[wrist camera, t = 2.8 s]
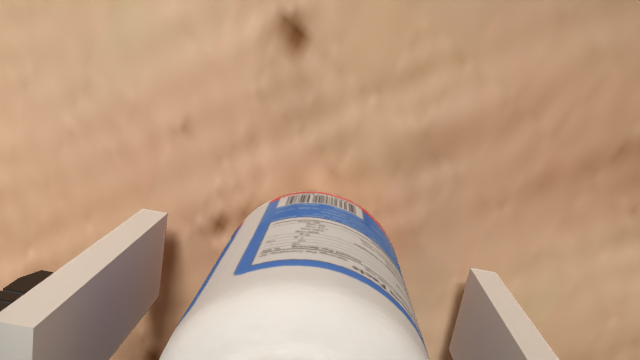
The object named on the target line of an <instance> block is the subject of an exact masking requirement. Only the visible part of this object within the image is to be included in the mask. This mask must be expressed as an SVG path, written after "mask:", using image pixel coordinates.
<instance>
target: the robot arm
mask: <svg viewBox="0 0 640 360" xmlns="http://www.w3.org/2000/svg"><path fill="white" fill-rule="evenodd" d="M167 216H168V213H165V212H160V211H154V210H149V209H143V208H142V209H141V210H140V211H138V212H137V213H136V214H134V215H133V216H131V217H130V218H129V219H127V220H126V221H125V222H123V223H122V224H120V225H119V226H118V227H116V228H115V229H114V230H112V231H111V232H109V233H108V234H107V235H105V236H104V237H103V238H101V239H100V240H98V241H97V242H96V243H94V244H93V245H92V246H90V247H89V248H87V249H86V250H85V251H83V252H82V253H81V254H79V255H78V256H76V257H75V258H74V259H72V260H71V261H70V262H68V263H67V264H65V265H64V266H63V267H61V268H60V269H58V270H57V271H56V272H48V271H43V270H41V271H38V272H35V273H32V274H29V275H26V276H23V277H20V278H18V279H17V280H15V281H14V282H12V283H11V284H9V285H8V286H6V287H5V288H3V291H0V360H109V359H110V358H111V357H112V355H113V354H114V353H115V351H116V350H117V349H118V348H119V346H120V345H121V344H122V343H123V341H124V340H125V339H126V337H127V336H128V335H129V334H130V332H131V331H132V330H133V329H134V327H135V326H136V325H137V324H138V322H139V321H140V320H141V318H142V317H143V316H144V315H145V313H146V312H147V311H148V310H149V308H150V307H151V306H152V305H153V303H154V302H155V301H156V299H157V298H158V297H159V291H160V282H161V272H162V263H163V254H164V244H165V235H166V225H167ZM449 351H450V354H451V356H452V359H453V360H559V359H558V357H557V356H556V354H555V353H554V352H553V350H552V349H551V348H550V346H549V345H548V343H547V342H546V341H545V339H544V338H543V337H542V335H541V334H540V332H539V331H538V330H537V328H536V327H535V326H534V324H533V323H532V321H531V320H530V319H529V317H528V316H527V315H526V313H525V312H524V310H523V309H522V308H521V306H520V305H519V304H518V302H517V301H516V299H515V298H514V297H513V295H512V294H511V293H510V291H509V290H508V289H507V287H506V286H505V284H504V283H503V282H502V280H501V279H500V278H499V276H498V275H497V273H496V272H492V271H487V270H481V269H475V268H470V270H469V274H468V278H467V282H466V285H465V289H464V293H463V297H462V301H461V304H460V308H459V312H458V316H457V320H456V323H455V327H454V331H453V335H452V339H451V342H450V346H449Z"/></svg>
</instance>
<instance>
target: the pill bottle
mask: <svg viewBox="0 0 640 360" xmlns="http://www.w3.org/2000/svg"><path fill="white" fill-rule="evenodd" d="M159 360H429V357H428V353H427V350H426V347H425V344H424V341H423V338H422V335H421V332H420V329H419V326H418V323H417V320H416V317H415V313H414V310H413V307H412V304H411V301H410V298H409V295H408V292H407V289H406V286H405V283H404V280H403V277H402V274H401V271H400V267H399V264H398V261H397V258H396V255H395V251H394V249H393V247H392V244H391V242H390V240H389V238H388V236H387V235H386V233H385V231H384V230H383V228H382V227H381V225H380V224H379V223H378V222H377V221H376V219H375V218H374V217H373V216H372V215H371V214H370V213H368V212H367V211H366V210H365V209H363V208H362V207H361V206H359V205H358V204H356V203H354V202H352V201H350V200H348V199H346V198H344V197H341V196H338V195H335V194H331V193H326V192H319V191H302V192H294V193H289V194H285V195H282V196H279V197H277V198H274V199H272V200H270V201H268V202H266V203H264V204H263V205H261V206H259V207H258V208H257V209H255V210H254V211H253V212H252V213H251V214H249V216H248V217H247V218H246V219H245V220H244V221H243V222H242V223H241V224H240V226H239V227H238V228H237V230H236V231H235V232H234V234H233V235H232V237H231V239H230V240H229V242H228V244H227V245H226V247H225V249H224V251H223V252H222V254H221V255H220V257H219V259H218V260H217V262H216V264H215V265H214V267H213V269H212V270H211V272H210V274H209V275H208V277H207V279H206V280H205V282H204V284H203V285H202V287H201V289H200V290H199V292H198V293H197V295H196V297H195V298H194V300H193V301H192V303H191V305H190V306H189V308H188V310H187V311H186V313H185V314H184V316H183V317H182V319H181V320H180V322H179V324H178V325H177V327H176V329H175V330H174V332H173V334H172V336H171V338H170V339H169V341H168V343H167V345H166V347H165V348H164V350H163V352H162V354H161V356H160V359H159Z"/></svg>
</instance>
